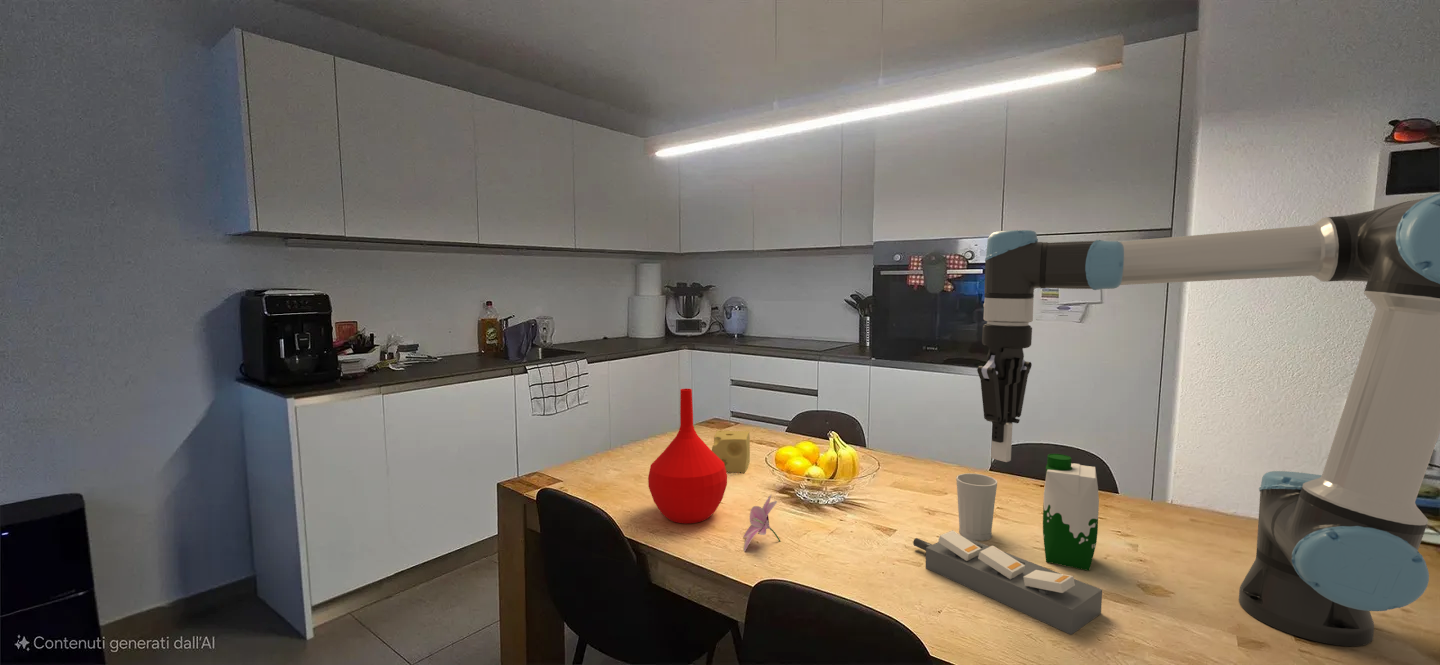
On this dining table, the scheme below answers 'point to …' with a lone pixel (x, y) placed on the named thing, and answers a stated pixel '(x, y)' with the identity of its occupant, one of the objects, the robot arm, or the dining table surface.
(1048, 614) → the power strip
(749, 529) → the lily
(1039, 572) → the rocker
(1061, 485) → the milk carton
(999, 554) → the rocker
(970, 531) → the cup
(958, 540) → the rocker
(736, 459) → the cheese
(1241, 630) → the dining table surface
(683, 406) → the vase
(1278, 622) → the robot arm
